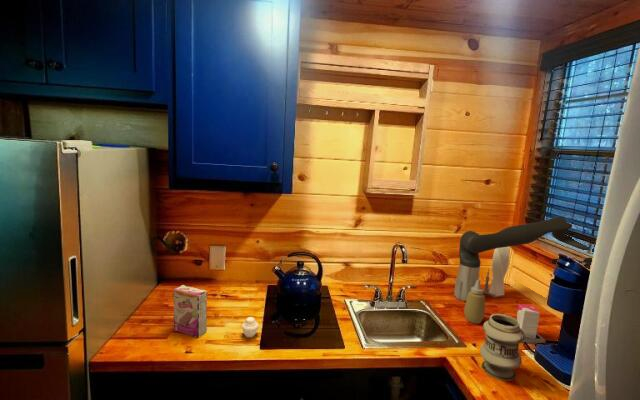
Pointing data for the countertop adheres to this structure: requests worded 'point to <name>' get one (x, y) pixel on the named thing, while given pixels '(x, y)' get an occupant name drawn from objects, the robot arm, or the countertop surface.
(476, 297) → the squeeze bottle
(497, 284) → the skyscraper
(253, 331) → the white lidded pot
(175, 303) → the candy bar box
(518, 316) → the supplement box
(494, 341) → the apothecary jar
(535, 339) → the socket collar
